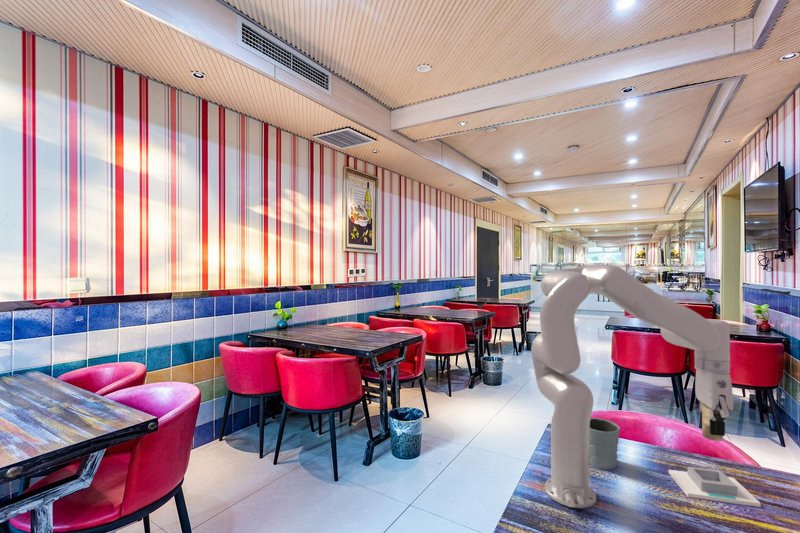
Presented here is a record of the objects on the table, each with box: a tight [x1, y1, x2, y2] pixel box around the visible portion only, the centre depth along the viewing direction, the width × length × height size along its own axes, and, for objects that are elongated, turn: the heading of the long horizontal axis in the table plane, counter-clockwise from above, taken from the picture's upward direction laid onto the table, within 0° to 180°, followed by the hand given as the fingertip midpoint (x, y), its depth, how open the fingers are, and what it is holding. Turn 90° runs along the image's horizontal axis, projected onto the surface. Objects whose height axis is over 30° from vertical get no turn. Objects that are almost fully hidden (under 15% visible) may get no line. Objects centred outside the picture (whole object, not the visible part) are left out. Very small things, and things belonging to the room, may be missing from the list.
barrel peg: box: [701, 405, 724, 442], centre depth 104 cm, size 4×4×8 cm
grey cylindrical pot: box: [590, 417, 620, 471], centre depth 118 cm, size 10×10×12 cm
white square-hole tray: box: [668, 466, 762, 508], centre depth 104 cm, size 12×16×4 cm
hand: (712, 430), depth 104 cm, fingers closed on barrel peg, 4 cm apart
